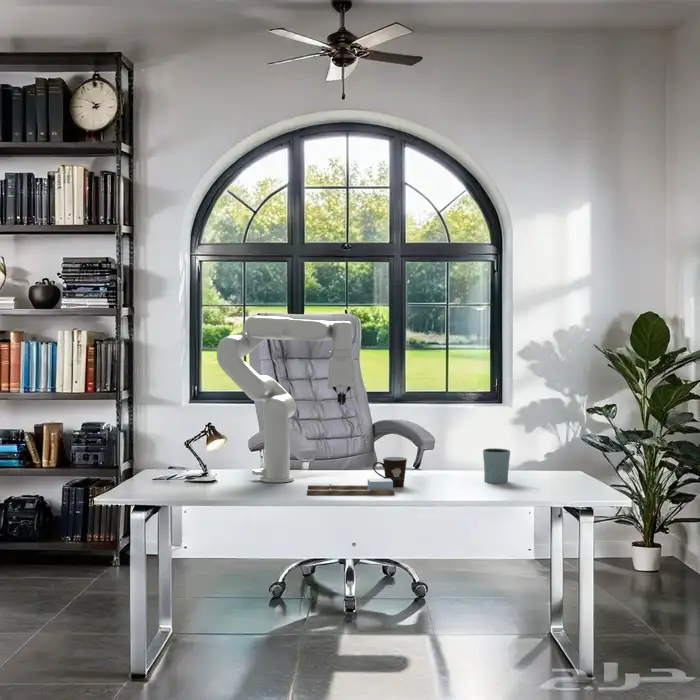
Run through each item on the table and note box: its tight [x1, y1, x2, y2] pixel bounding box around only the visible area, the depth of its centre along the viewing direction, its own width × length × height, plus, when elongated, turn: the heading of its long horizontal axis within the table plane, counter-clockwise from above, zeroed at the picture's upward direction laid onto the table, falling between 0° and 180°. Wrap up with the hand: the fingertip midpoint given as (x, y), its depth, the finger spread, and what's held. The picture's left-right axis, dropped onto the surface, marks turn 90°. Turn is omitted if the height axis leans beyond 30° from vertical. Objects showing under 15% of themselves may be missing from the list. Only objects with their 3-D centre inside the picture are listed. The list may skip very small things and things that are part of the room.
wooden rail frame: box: [306, 484, 395, 496], centre depth 316 cm, size 30×10×2 cm, turn 91°
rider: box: [367, 478, 394, 490], centre depth 316 cm, size 8×6×4 cm
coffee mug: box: [372, 456, 408, 489], centre depth 329 cm, size 12×9×10 cm
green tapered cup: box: [482, 447, 511, 485], centre depth 338 cm, size 10×10×12 cm
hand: (341, 404), depth 333 cm, fingers closed
